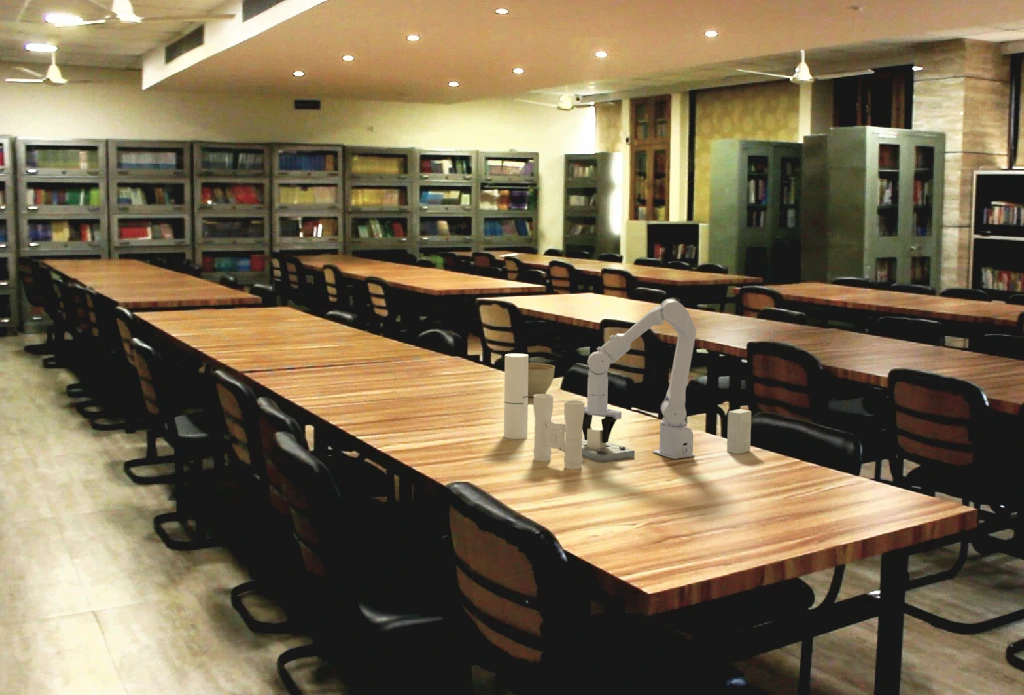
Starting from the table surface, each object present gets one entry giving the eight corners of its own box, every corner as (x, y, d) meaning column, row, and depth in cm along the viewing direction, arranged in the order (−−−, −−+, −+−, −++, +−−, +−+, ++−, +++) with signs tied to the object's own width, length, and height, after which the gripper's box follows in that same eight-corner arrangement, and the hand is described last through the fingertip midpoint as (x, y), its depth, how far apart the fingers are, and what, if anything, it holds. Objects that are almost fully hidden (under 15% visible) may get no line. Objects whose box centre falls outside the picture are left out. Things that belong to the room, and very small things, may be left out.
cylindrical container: (532, 436, 325) (533, 355, 321) (516, 440, 320) (517, 357, 316) (514, 432, 330) (516, 352, 326) (498, 436, 324) (499, 355, 321)
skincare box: (737, 448, 312) (739, 408, 311) (750, 451, 309) (752, 410, 308) (726, 451, 308) (727, 411, 306) (738, 454, 305) (740, 413, 303)
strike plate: (634, 457, 300) (634, 448, 299) (600, 462, 294) (600, 453, 293) (592, 443, 317) (592, 434, 316) (559, 447, 310) (559, 439, 310)
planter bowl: (527, 389, 404) (527, 361, 403) (562, 394, 395) (563, 365, 393) (501, 395, 391) (502, 366, 390) (538, 401, 382) (538, 371, 380)
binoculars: (528, 459, 297) (529, 395, 294) (542, 455, 300) (543, 393, 298) (573, 470, 284) (574, 404, 282) (587, 467, 288) (588, 402, 286)
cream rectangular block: (605, 452, 306) (606, 428, 305) (599, 454, 302) (599, 430, 302) (593, 450, 308) (593, 426, 307) (586, 453, 305) (587, 429, 304)
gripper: (626, 394, 302) (625, 441, 304) (581, 389, 310) (580, 435, 312) (615, 398, 296) (614, 446, 298) (569, 392, 304) (568, 439, 306)
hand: (596, 440), depth 305 cm, fingers open, 5 cm apart
